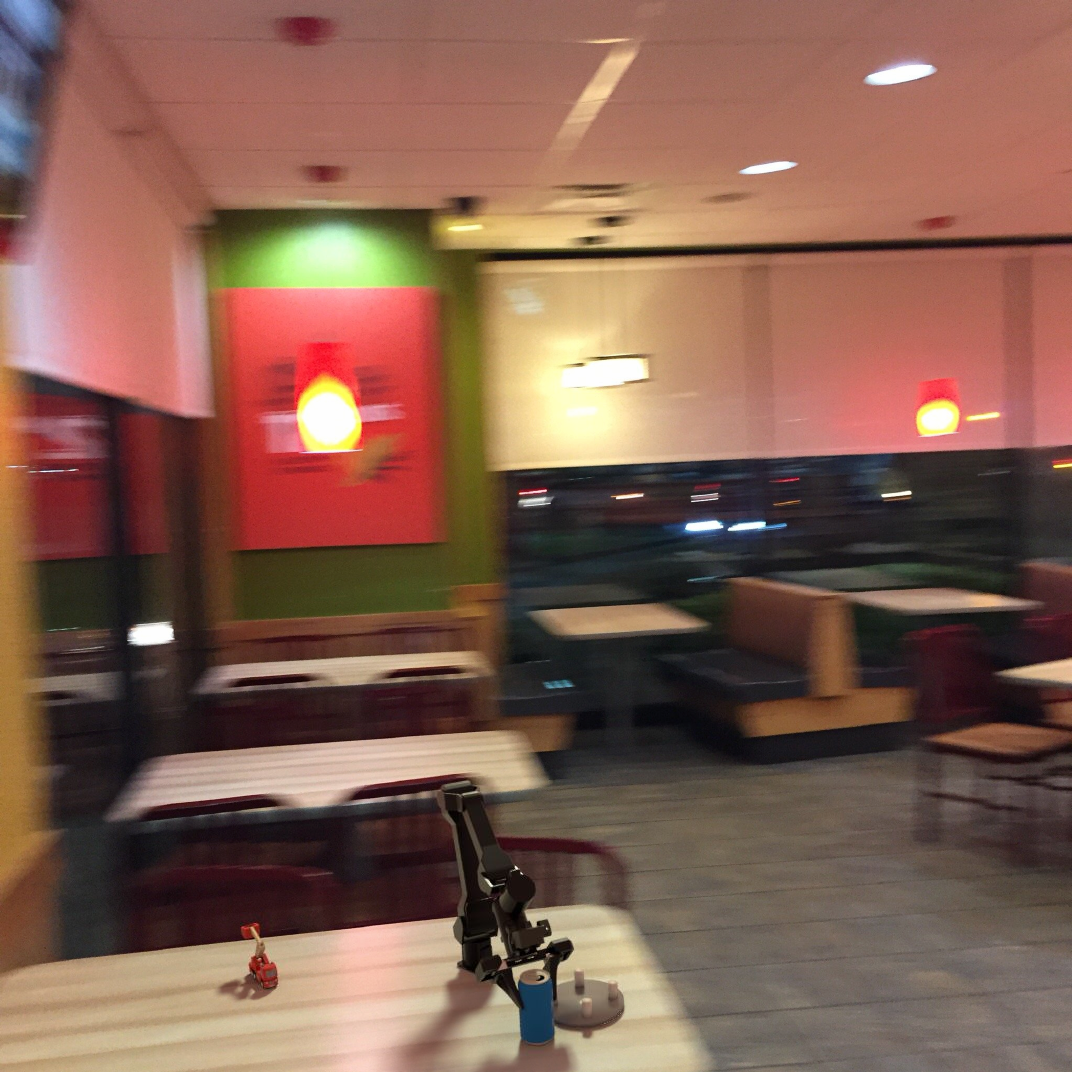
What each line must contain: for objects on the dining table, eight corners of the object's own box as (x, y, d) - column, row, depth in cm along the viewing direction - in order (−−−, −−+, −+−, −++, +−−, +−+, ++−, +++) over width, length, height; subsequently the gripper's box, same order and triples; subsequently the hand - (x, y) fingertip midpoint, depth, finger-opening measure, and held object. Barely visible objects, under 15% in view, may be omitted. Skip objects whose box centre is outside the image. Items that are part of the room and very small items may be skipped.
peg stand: (526, 1010, 205) (525, 990, 205) (576, 977, 217) (575, 957, 217) (591, 1036, 195) (590, 1015, 194) (640, 1000, 207) (639, 980, 207)
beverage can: (551, 1048, 192) (548, 985, 191) (517, 1046, 193) (513, 983, 192) (557, 1029, 198) (554, 968, 197) (524, 1027, 199) (521, 966, 198)
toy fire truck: (264, 991, 218) (261, 946, 217) (243, 966, 229) (240, 924, 229) (280, 986, 220) (277, 942, 219) (258, 962, 231) (255, 920, 231)
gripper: (477, 917, 194) (502, 1002, 184) (567, 896, 201) (596, 976, 192) (465, 941, 201) (488, 1023, 192) (552, 920, 209) (579, 998, 199)
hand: (538, 1004), depth 194 cm, fingers closed on beverage can, 6 cm apart
